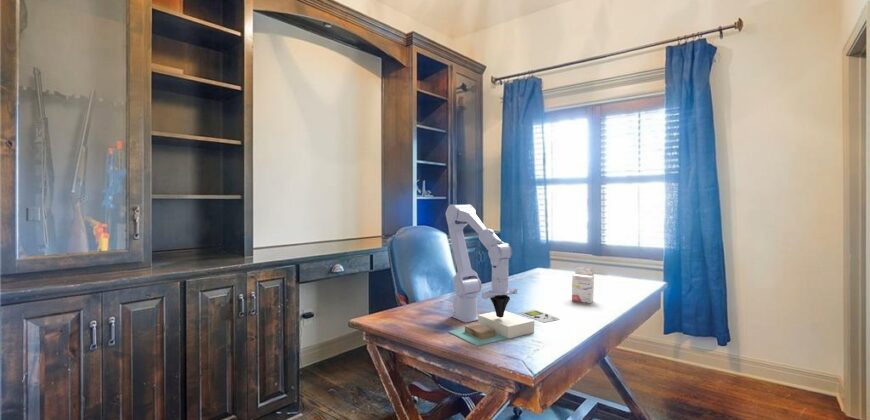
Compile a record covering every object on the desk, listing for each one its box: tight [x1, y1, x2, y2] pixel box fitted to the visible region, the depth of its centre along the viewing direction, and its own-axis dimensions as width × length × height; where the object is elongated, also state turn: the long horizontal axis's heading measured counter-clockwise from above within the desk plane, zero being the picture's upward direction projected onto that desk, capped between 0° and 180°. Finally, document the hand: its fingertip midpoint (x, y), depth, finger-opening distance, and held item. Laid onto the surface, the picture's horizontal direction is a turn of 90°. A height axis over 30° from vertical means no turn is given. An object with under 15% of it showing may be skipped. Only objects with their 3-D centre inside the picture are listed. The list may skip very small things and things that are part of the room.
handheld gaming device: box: [518, 309, 560, 323], centre depth 162 cm, size 9×1×15 cm
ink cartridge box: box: [571, 266, 595, 304], centre depth 185 cm, size 9×5×15 cm, turn 58°
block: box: [464, 322, 496, 339], centre depth 140 cm, size 9×6×2 cm, turn 33°
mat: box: [448, 327, 508, 347], centre depth 139 cm, size 16×13×1 cm
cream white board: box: [477, 310, 535, 340], centre depth 146 cm, size 16×12×4 cm
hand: (499, 316), depth 144 cm, fingers closed
